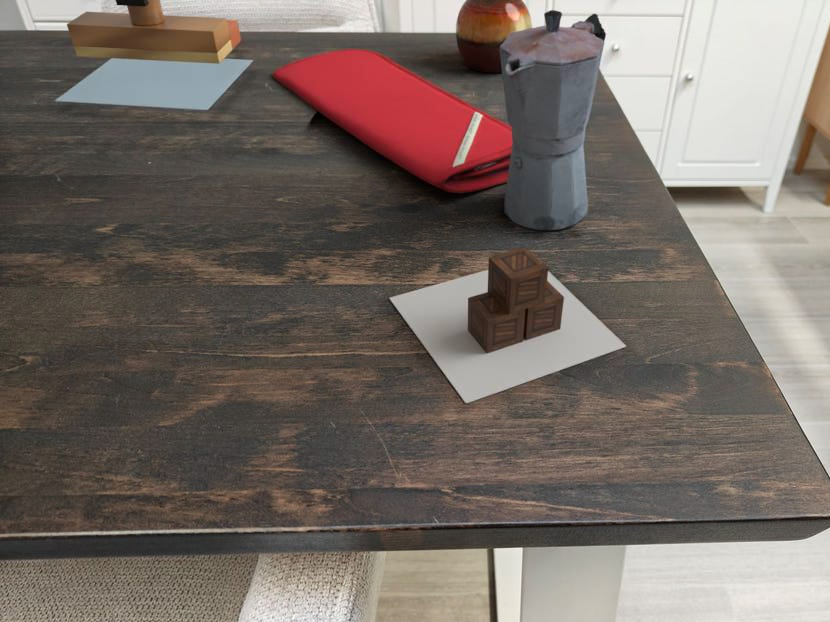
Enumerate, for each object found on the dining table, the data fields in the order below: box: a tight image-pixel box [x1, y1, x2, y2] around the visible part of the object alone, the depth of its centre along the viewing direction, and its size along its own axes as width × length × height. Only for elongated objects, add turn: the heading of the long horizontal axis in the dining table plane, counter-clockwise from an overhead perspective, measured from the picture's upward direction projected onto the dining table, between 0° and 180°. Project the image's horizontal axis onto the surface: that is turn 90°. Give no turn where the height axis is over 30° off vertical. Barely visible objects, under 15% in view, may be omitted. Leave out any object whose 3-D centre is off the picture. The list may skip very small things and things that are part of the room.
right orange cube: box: [227, 19, 242, 50], centre depth 111 cm, size 4×4×4 cm
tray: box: [54, 58, 254, 111], centre depth 101 cm, size 20×18×1 cm
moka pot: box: [500, 9, 607, 231], centre depth 72 cm, size 10×15×20 cm, turn 145°
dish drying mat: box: [271, 48, 513, 194], centre depth 93 cm, size 16×41×4 cm, turn 36°
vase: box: [455, 0, 533, 74], centre depth 106 cm, size 11×11×15 cm
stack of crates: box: [388, 246, 628, 404], centre depth 62 cm, size 15×15×7 cm
